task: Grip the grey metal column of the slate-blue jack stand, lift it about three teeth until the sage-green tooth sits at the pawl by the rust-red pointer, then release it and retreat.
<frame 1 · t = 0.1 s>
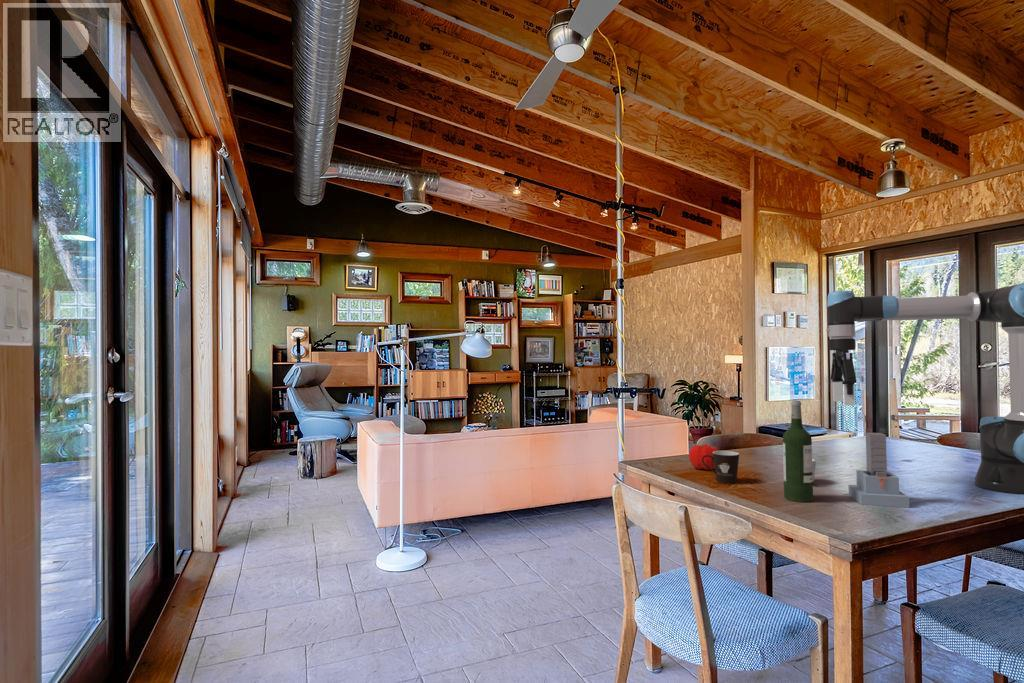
hand: (843, 403, 175), 28 cm above the table, fingers open, 13 cm apart
stand base: (877, 500, 161), on the table
tomato: (705, 469, 208), on the table
cup: (804, 484, 183), on the table
coffee mug: (722, 481, 188), on the table
column: (876, 467, 161), point 10 cm above the table, slide at 0.0 cm
wine bottle: (798, 499, 164), on the table
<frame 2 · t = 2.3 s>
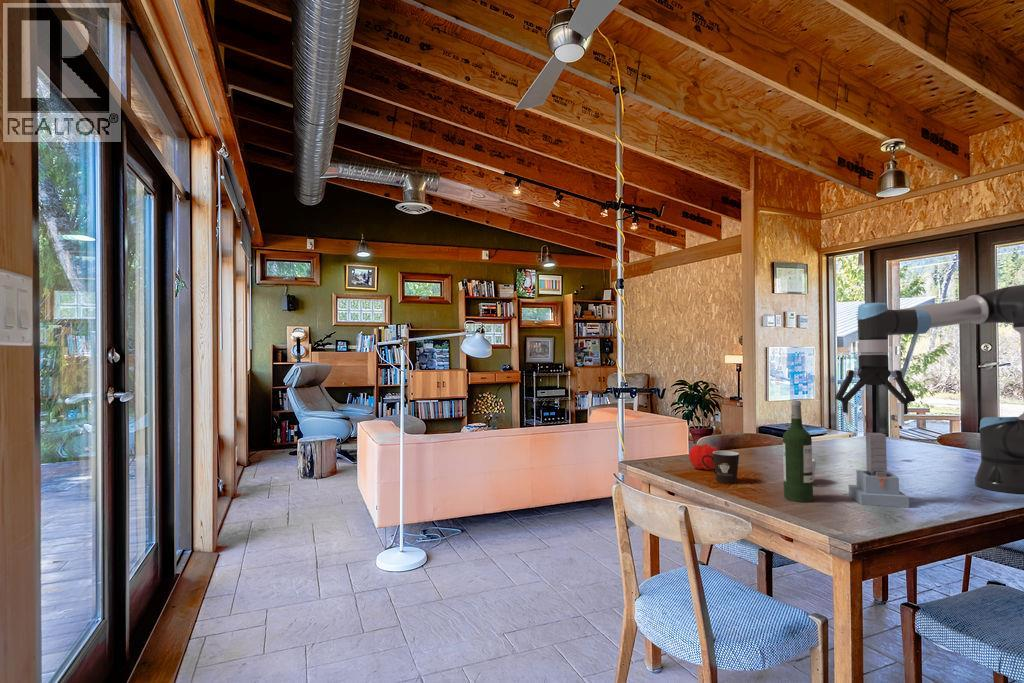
hand: (874, 424, 161), 23 cm above the table, fingers open, 13 cm apart
nothing on the table moved.
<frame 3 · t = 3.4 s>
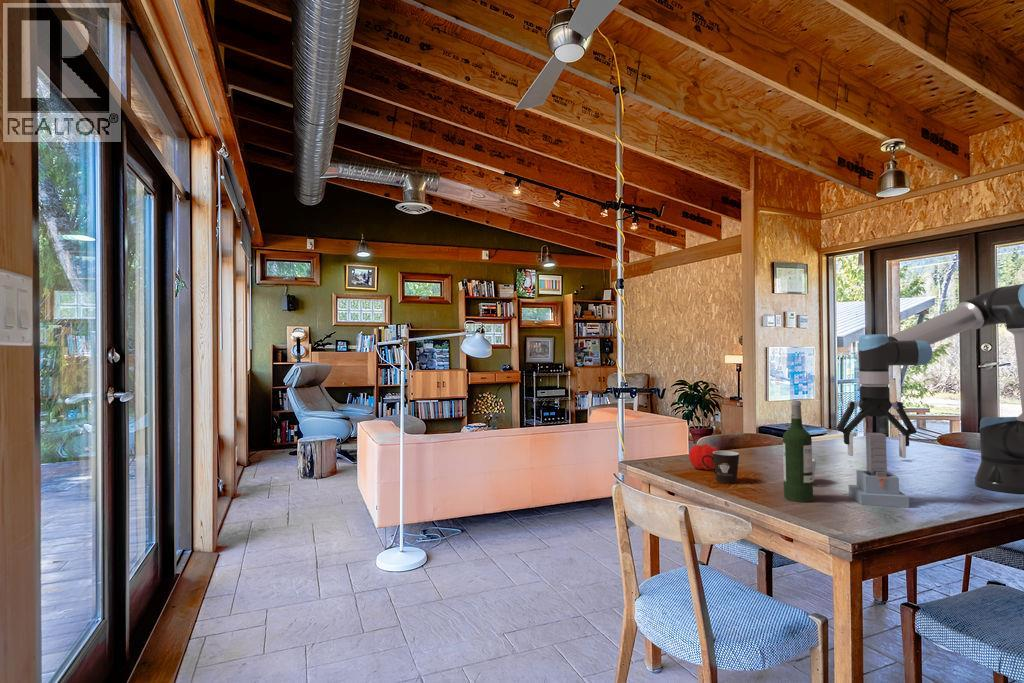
hand: (876, 456, 161), 13 cm above the table, fingers open, 13 cm apart
nothing on the table moved.
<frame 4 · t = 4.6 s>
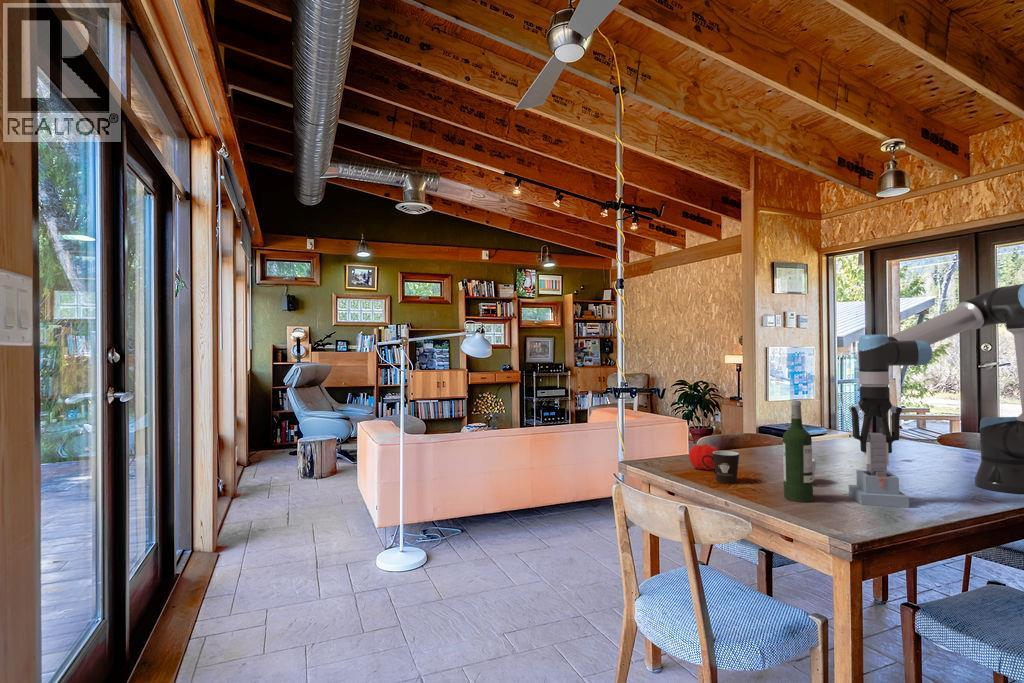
hand: (876, 463, 161), 11 cm above the table, fingers closed on column, 4 cm apart
column: (876, 467, 161), point 10 cm above the table, slide at 0.0 cm, touching gripper
everything else where it was.
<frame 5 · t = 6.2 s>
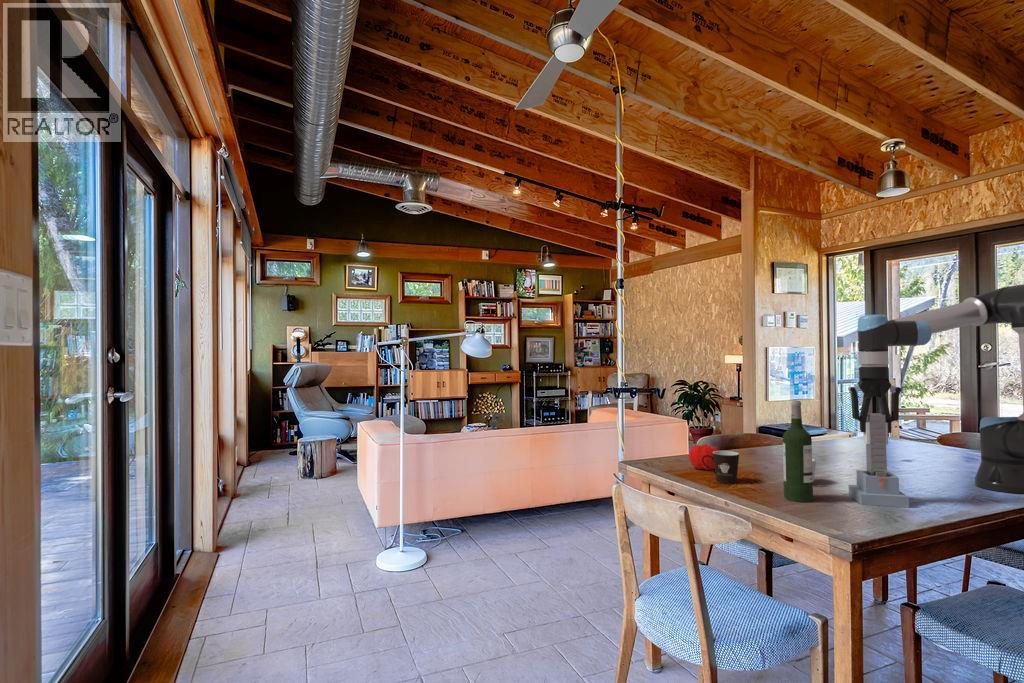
hand: (875, 443, 161), 17 cm above the table, fingers closed on column, 4 cm apart
column: (876, 447, 161), point 16 cm above the table, slide at 6.0 cm, touching gripper
everything else where it was.
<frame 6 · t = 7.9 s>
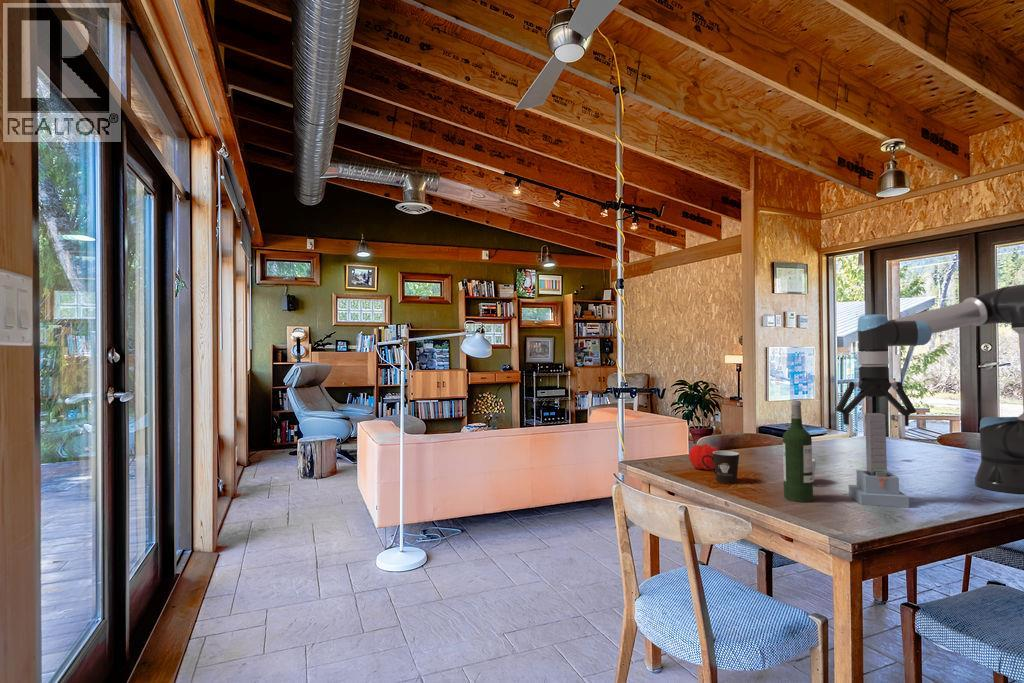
hand: (875, 436, 161), 19 cm above the table, fingers open, 13 cm apart
column: (876, 447, 161), point 16 cm above the table, slide at 6.0 cm
everything else where it was.
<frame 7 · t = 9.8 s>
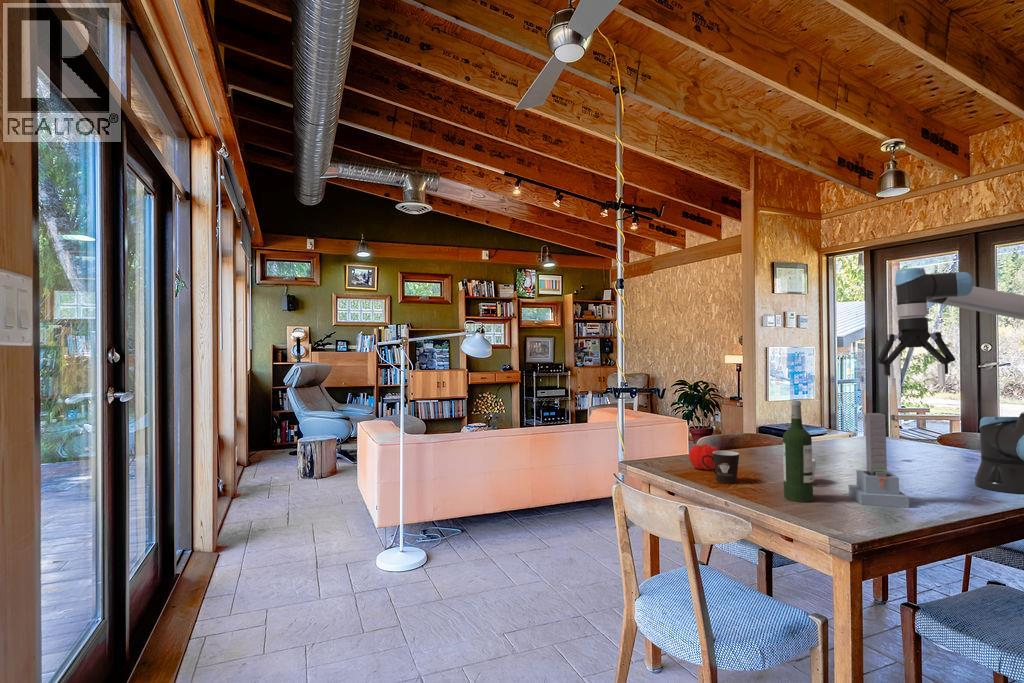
hand: (916, 385, 167), 34 cm above the table, fingers open, 13 cm apart
nothing on the table moved.
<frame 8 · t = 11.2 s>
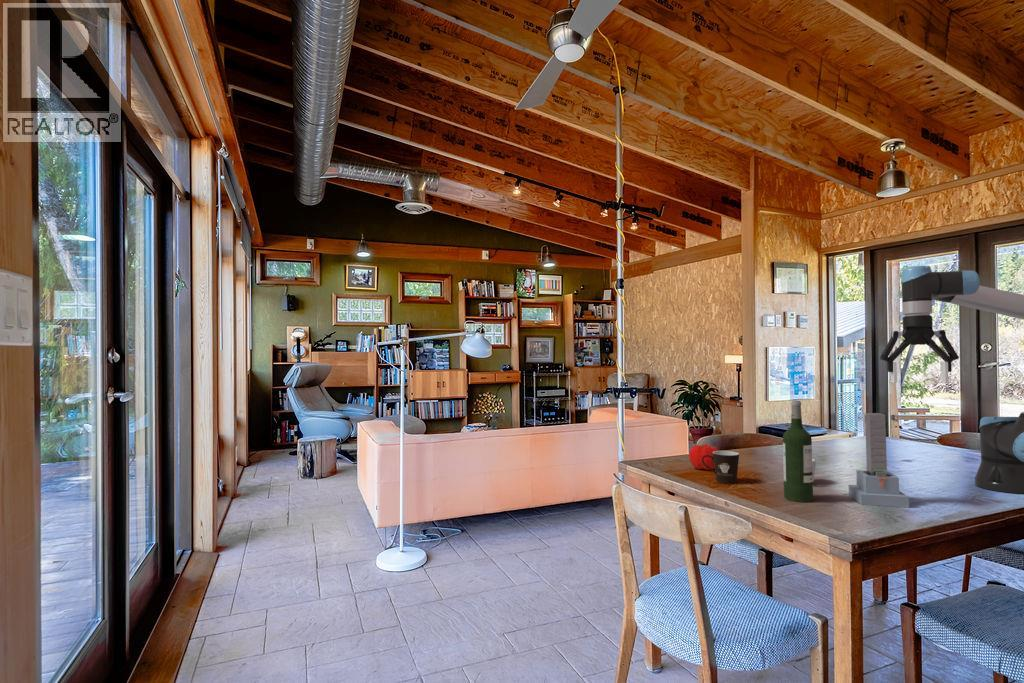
hand: (919, 382, 168), 35 cm above the table, fingers open, 13 cm apart
nothing on the table moved.
at the end: column slide at 6.0 cm; the gripper is holding nothing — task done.
